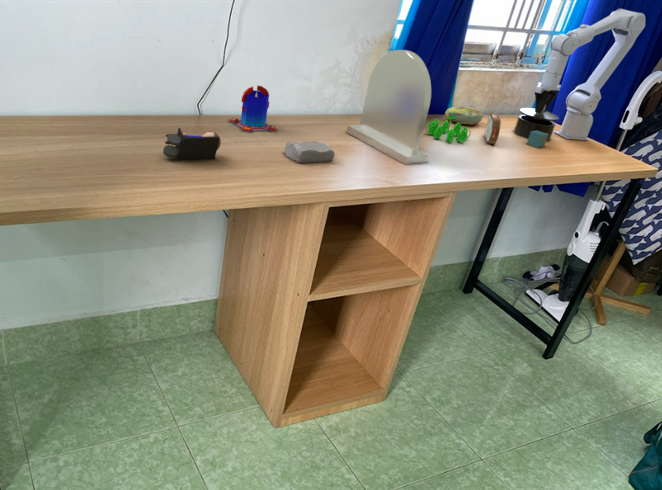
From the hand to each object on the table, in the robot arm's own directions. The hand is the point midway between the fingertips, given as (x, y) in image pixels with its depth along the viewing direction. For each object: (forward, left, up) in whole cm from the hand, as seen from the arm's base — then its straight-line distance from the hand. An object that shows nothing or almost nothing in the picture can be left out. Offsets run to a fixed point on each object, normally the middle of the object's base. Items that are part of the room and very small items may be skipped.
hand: (539, 112), depth 218 cm
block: (+6, +12, -8) cm, 16 cm away
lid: (0, 0, -1) cm, 1 cm away
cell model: (+23, -10, -8) cm, 27 cm away
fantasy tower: (+105, +12, -8) cm, 106 cm away
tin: (+23, +10, -8) cm, 27 cm away
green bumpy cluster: (+39, +10, -8) cm, 41 cm away
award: (+66, +24, -8) cm, 71 cm away
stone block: (+94, +37, -8) cm, 101 cm away
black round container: (0, 0, -8) cm, 8 cm away
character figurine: (+126, +43, -8) cm, 133 cm away
